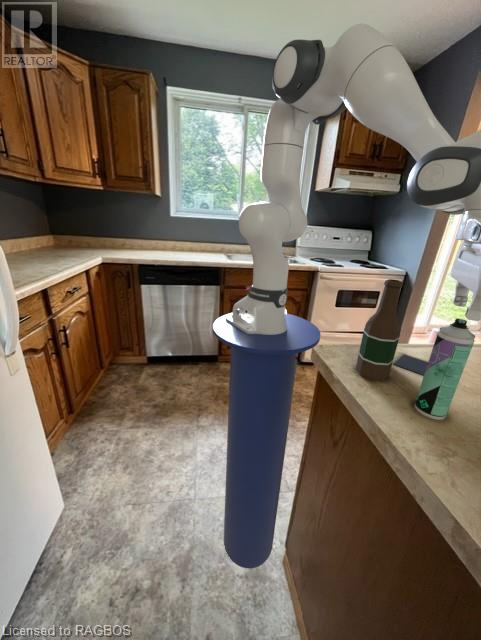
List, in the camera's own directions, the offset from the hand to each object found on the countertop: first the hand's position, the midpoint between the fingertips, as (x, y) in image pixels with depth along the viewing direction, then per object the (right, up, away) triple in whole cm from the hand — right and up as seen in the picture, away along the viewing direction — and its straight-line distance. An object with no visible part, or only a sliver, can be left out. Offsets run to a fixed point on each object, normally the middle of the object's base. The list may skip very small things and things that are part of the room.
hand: (464, 311), depth 48 cm
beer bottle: (-7, -15, +21) cm, 27 cm away
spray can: (-1, -20, +7) cm, 22 cm away
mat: (+8, -14, +25) cm, 30 cm away
